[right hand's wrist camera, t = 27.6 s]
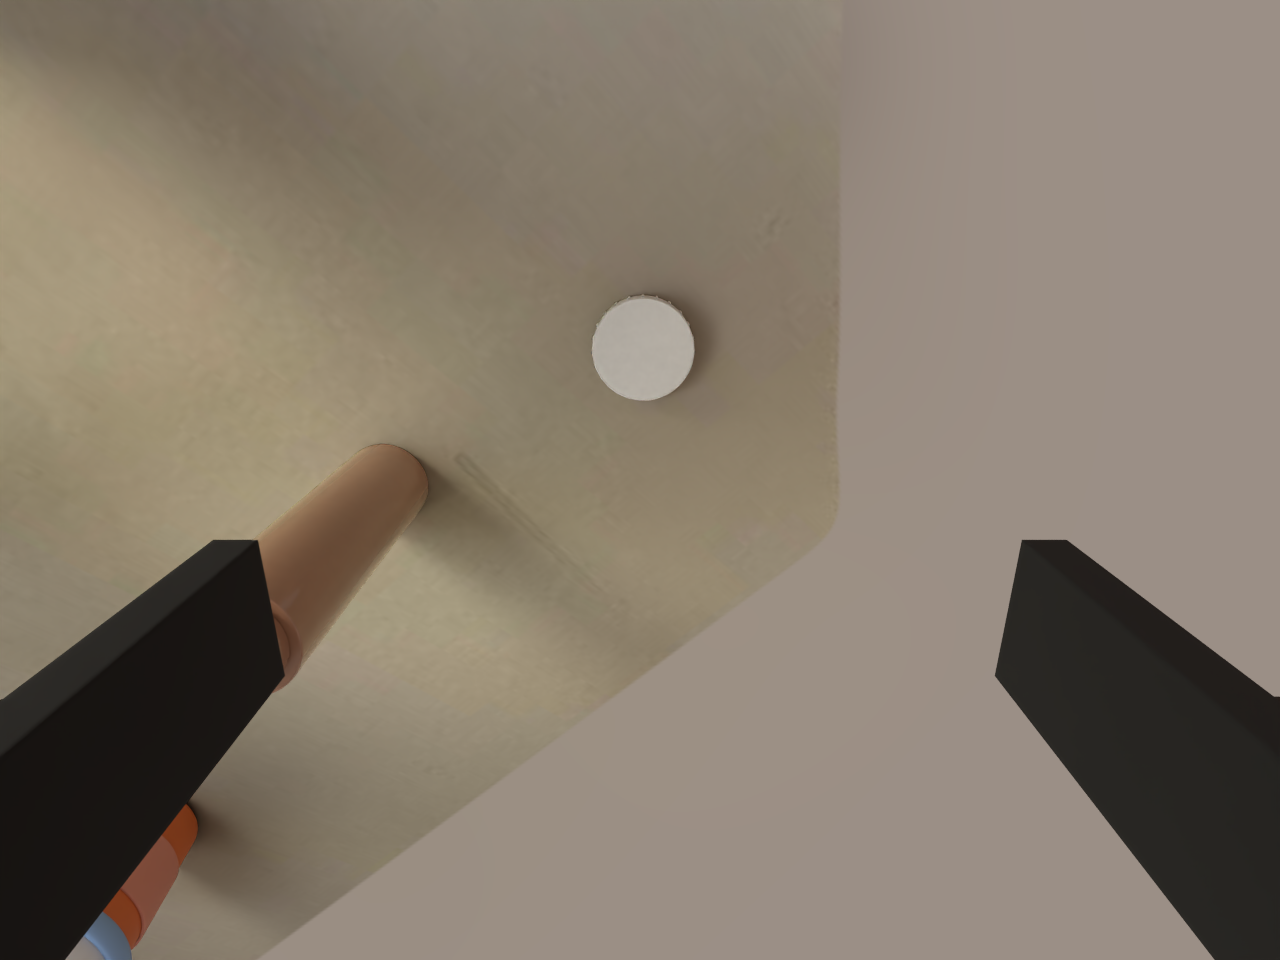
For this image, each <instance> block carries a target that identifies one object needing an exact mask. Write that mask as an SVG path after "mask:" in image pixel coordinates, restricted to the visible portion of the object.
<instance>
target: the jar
mask: <svg viewBox="0 0 1280 960" xmlns="http://www.w3.org/2000/svg"><path fill="white" fill-rule="evenodd" d="M427 495H428V480H427V476H426V473H425V471H424V469H423V467H422V466H421V464H420V463H419V462H418V460H417V459H416V458H415V457H414V456H412V455H411V454H410V453H408V452H407V451H405V450H403V449H401V448H399V447H396V446H392V445H387V444H377V445H371V446H368V447H365V448H363V449H362V450H360V451H359V452H357V453H356V454H355V455H354V456H352V457H351V458H350V459H349V460H348V461H346V462H345V463H344V464H343V465H342V466H340V467H339V468H338V469H337V470H336V471H334V472H333V473H332V474H331V475H330V476H328V477H327V478H326V479H325V480H324V481H322V482H321V483H320V484H319V485H318V486H316V487H315V488H314V489H313V490H312V491H310V492H309V493H308V494H307V495H306V496H304V497H303V498H302V499H301V500H299V501H298V502H297V503H296V504H295V505H293V506H292V507H291V508H290V509H289V510H287V511H286V512H285V513H284V514H283V515H281V516H280V517H279V518H278V519H277V520H275V521H274V522H273V523H272V524H271V525H269V526H268V527H267V528H266V529H265V530H263V531H262V532H261V533H260V534H259V535H257V536H256V537H255V538H254V539H253V540H258V543H259V548H260V553H261V558H262V563H263V568H264V573H265V578H266V583H267V588H268V593H269V598H270V603H271V608H272V613H273V618H274V623H275V628H276V633H277V638H278V643H279V648H280V653H281V658H282V663H283V668H284V673H285V677H284V678H283V679H282V680H281V682H280V683H279V684H278V686H277V687H276V688H275V689H274V691H273V692H272V693H274V692H276V691H278V690H280V689H282V688H283V687H285V686H286V685H287V684H288V683H289V682H290V681H291V680H292V679H293V678H294V677H295V676H296V674H297V673H298V672H299V670H300V669H301V668H302V666H303V665H304V664H305V662H306V661H307V660H308V658H309V657H310V656H311V654H312V653H313V652H314V650H315V649H316V648H317V646H318V645H319V644H320V642H321V641H322V640H323V638H324V637H325V636H326V634H327V633H328V632H329V630H330V629H331V628H332V626H333V625H334V624H335V622H336V621H337V620H338V618H339V617H340V616H341V614H342V613H343V612H344V610H345V609H346V608H347V606H348V605H349V604H350V602H351V601H352V600H353V598H354V597H355V596H356V594H357V593H358V592H359V590H360V589H361V588H362V586H363V585H364V584H365V582H366V581H367V580H368V578H369V577H370V576H371V574H372V573H373V572H374V570H375V569H376V568H377V566H378V565H379V564H380V562H381V561H382V560H383V558H384V557H385V556H386V554H387V553H388V552H389V550H390V549H391V548H392V546H393V545H394V544H395V542H396V541H397V540H398V538H399V537H400V536H401V534H402V533H403V532H404V531H405V529H406V528H407V527H408V525H409V524H410V523H411V521H412V520H413V519H414V517H415V516H416V515H417V513H418V512H419V511H420V509H421V508H422V507H423V505H424V503H425V501H426V499H427Z"/></svg>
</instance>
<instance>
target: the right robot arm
mask: <svg viewBox="0 0 1280 960" xmlns="http://www.w3.org/2000/svg"><path fill="white" fill-rule="evenodd" d="M995 676H996V678H997V679H998V680H999V682H1000V683H1001V684H1002V686H1003V687H1004V688H1005V689H1006V691H1007V692H1008V693H1009V695H1010V696H1011V697H1012V698H1013V700H1014V701H1015V702H1016V703H1017V705H1018V706H1019V707H1020V709H1021V710H1022V711H1023V713H1024V714H1025V715H1026V717H1027V718H1028V719H1029V720H1030V722H1031V723H1032V724H1033V726H1034V727H1035V728H1036V729H1037V731H1038V732H1039V733H1040V735H1041V736H1042V737H1043V739H1044V740H1045V741H1046V742H1047V744H1048V745H1049V746H1050V748H1051V749H1052V750H1053V751H1054V753H1055V754H1056V755H1057V757H1058V758H1059V759H1060V761H1061V762H1062V763H1063V764H1064V766H1065V767H1066V768H1067V769H1068V771H1069V772H1070V773H1071V775H1072V776H1073V777H1074V779H1075V780H1076V781H1077V782H1078V784H1079V785H1080V786H1081V788H1082V789H1083V790H1084V792H1085V793H1086V794H1087V795H1088V797H1089V798H1090V799H1091V800H1092V802H1093V803H1094V804H1095V806H1096V807H1097V808H1098V810H1099V811H1100V812H1101V813H1102V815H1103V816H1104V817H1105V819H1106V820H1107V821H1108V822H1109V824H1110V825H1111V826H1112V828H1113V829H1114V830H1115V831H1116V833H1117V834H1118V835H1119V837H1120V838H1121V839H1122V841H1123V842H1124V843H1125V844H1126V846H1127V847H1128V848H1129V850H1130V851H1131V852H1132V854H1133V855H1134V856H1135V857H1136V859H1137V860H1138V861H1139V863H1140V864H1141V865H1142V866H1143V868H1144V869H1145V870H1146V872H1147V873H1148V874H1149V875H1150V877H1151V878H1152V879H1153V881H1154V882H1155V883H1156V885H1157V886H1158V887H1159V888H1160V890H1161V891H1162V892H1163V894H1164V895H1165V896H1166V897H1167V899H1168V900H1169V901H1170V903H1171V904H1172V905H1173V906H1174V908H1175V909H1176V910H1177V912H1178V913H1179V914H1180V916H1181V917H1182V918H1183V919H1184V921H1185V922H1186V923H1187V925H1188V926H1189V927H1190V928H1191V930H1192V931H1193V932H1194V934H1195V935H1196V936H1197V937H1198V939H1199V940H1200V941H1201V943H1202V944H1203V945H1204V947H1205V948H1206V949H1207V950H1208V952H1209V953H1210V954H1211V956H1212V957H1213V958H1214V959H1215V960H1280V697H1274V696H1272V695H1271V694H1270V693H1268V692H1267V691H1266V690H1264V689H1263V688H1262V687H1260V686H1259V685H1258V684H1256V683H1255V682H1254V681H1252V680H1251V679H1250V678H1248V677H1247V676H1246V675H1244V674H1243V673H1242V672H1241V671H1239V670H1238V669H1237V668H1235V667H1234V666H1233V665H1231V664H1230V663H1229V662H1227V661H1226V660H1225V659H1223V658H1222V657H1221V656H1219V655H1218V654H1217V653H1215V652H1214V651H1213V650H1211V649H1210V648H1209V647H1207V646H1206V645H1205V644H1203V643H1202V642H1201V641H1200V640H1198V639H1197V638H1196V637H1194V636H1193V635H1192V634H1190V633H1189V632H1188V631H1186V630H1185V629H1184V628H1182V627H1181V626H1180V625H1178V624H1177V623H1176V622H1174V621H1173V620H1172V619H1170V618H1169V617H1168V616H1166V615H1165V614H1164V613H1162V612H1161V611H1160V610H1159V609H1157V608H1156V607H1155V606H1153V605H1152V604H1151V603H1149V602H1148V601H1147V600H1145V599H1144V598H1143V597H1141V596H1140V595H1139V594H1137V593H1136V592H1135V591H1133V590H1132V589H1131V588H1129V587H1128V586H1127V585H1125V584H1124V583H1123V582H1122V581H1120V580H1119V579H1118V578H1116V577H1115V576H1114V575H1112V574H1111V573H1110V572H1108V571H1107V570H1106V569H1104V568H1103V567H1102V566H1100V565H1099V564H1098V563H1096V562H1095V561H1094V560H1092V559H1091V558H1090V557H1088V556H1087V555H1086V554H1084V553H1083V552H1082V551H1081V550H1079V549H1078V548H1077V547H1075V546H1074V545H1073V544H1071V543H1070V542H1069V541H1067V540H1022V543H1021V548H1020V553H1019V558H1018V563H1017V568H1016V573H1015V578H1014V583H1013V588H1012V593H1011V598H1010V603H1009V608H1008V613H1007V618H1006V623H1005V628H1004V633H1003V638H1002V643H1001V648H1000V653H999V658H998V663H997V668H996V673H995ZM284 677H285V673H284V668H283V663H282V658H281V653H280V648H279V643H278V638H277V633H276V628H275V623H274V618H273V613H272V608H271V603H270V598H269V593H268V588H267V583H266V578H265V573H264V568H263V563H262V558H261V553H260V548H259V543H258V540H213V541H211V542H210V543H209V544H207V545H206V546H205V547H203V548H202V549H201V550H199V551H198V552H197V553H195V554H194V555H193V556H192V557H190V558H189V559H188V560H186V561H185V562H184V563H182V564H181V565H180V566H178V567H177V568H176V569H174V570H173V571H172V572H170V573H169V574H168V575H166V576H165V577H164V578H162V579H161V580H160V581H158V582H157V583H156V584H155V585H153V586H152V587H151V588H149V589H148V590H147V591H145V592H144V593H143V594H141V595H140V596H139V597H137V598H136V599H135V600H133V601H132V602H131V603H129V604H128V605H127V606H125V607H124V608H123V609H121V610H120V611H119V612H117V613H116V614H115V615H114V616H112V617H111V618H110V619H108V620H107V621H106V622H104V623H103V624H102V625H100V626H99V627H98V628H96V629H95V630H94V631H92V632H91V633H90V634H88V635H87V636H86V637H84V638H83V639H82V640H80V641H79V642H78V643H77V644H75V645H74V646H73V647H71V648H70V649H69V650H67V651H66V652H65V653H63V654H62V655H61V656H59V657H58V658H57V659H55V660H54V661H53V662H51V663H50V664H49V665H47V666H46V667H45V668H43V669H42V670H41V671H39V672H38V673H37V674H36V675H34V676H33V677H32V678H30V679H29V680H28V681H26V682H25V683H24V684H22V685H21V686H20V687H18V688H17V689H16V690H14V691H13V692H12V693H10V694H9V695H8V696H6V697H5V698H4V699H1V700H0V960H65V959H66V958H67V957H68V956H69V954H70V953H71V952H72V950H73V949H74V948H75V947H76V945H77V944H78V943H79V941H80V940H81V939H82V937H83V936H84V935H85V934H86V932H87V931H88V930H89V928H90V927H91V926H92V925H93V923H94V922H95V921H96V919H97V918H98V917H99V916H100V914H101V913H102V912H103V910H104V909H105V908H106V906H107V905H108V904H109V903H110V901H111V900H112V899H113V897H114V896H115V895H116V894H117V892H118V891H119V890H120V888H121V887H122V886H123V885H124V883H125V882H126V881H127V879H128V878H129V877H130V875H131V874H132V873H133V872H134V870H135V869H136V868H137V866H138V865H139V864H140V863H141V861H142V860H143V859H144V857H145V856H146V855H147V854H148V852H149V851H150V850H151V848H152V847H153V846H154V844H155V843H156V842H157V841H158V839H159V838H160V837H161V835H162V834H163V833H164V832H165V830H166V829H167V828H168V826H169V825H170V824H171V823H172V821H173V820H174V819H175V817H176V816H177V815H178V813H179V812H180V811H181V810H182V808H183V807H184V806H185V804H186V803H187V802H188V801H189V799H190V798H191V797H192V795H193V794H194V793H195V792H196V790H197V789H198V788H199V786H200V785H201V784H202V782H203V781H204V780H205V779H206V777H207V776H208V775H209V773H210V772H211V771H212V770H213V768H214V767H215V766H216V764H217V763H218V762H219V761H220V759H221V758H222V757H223V755H224V754H225V753H226V751H227V750H228V749H229V748H230V746H231V745H232V744H233V742H234V741H235V740H236V739H237V737H238V736H239V735H240V733H241V732H242V731H243V730H244V728H245V727H246V726H247V724H248V723H249V722H250V720H251V719H252V718H253V717H254V715H255V714H256V713H257V711H258V710H259V709H260V708H261V706H262V705H263V704H264V702H265V701H266V700H267V698H268V697H269V696H270V695H271V693H272V692H273V691H274V689H275V688H276V687H277V686H278V684H279V683H280V682H281V680H282V679H283V678H284Z"/></svg>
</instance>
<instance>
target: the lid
mask: <svg viewBox="0 0 1280 960" xmlns="http://www.w3.org/2000/svg"><path fill="white" fill-rule="evenodd" d="M689 326H690V324H689V322H688V321H686V319H685V318H684V316H683V315H682V312H681V310H678V309H677V308H676V307H674V306H673V305H672V304H671V302H670V301H669V302H667V301H665V300H663V299H661V298H658V296H656V297H654V296H647V295H644V294H642V295H640V296H633V297H630V296H628V298H626V299H623V300H621V301H619V302H617V301H616V302H615V305H613V306H612V307H611V308H610V309H609V310H608V311H605V312H604V315H603V317H602V319H601V320H600V322H598V323H597V325H596V327H597V329H596V331H595V334H594V335H593V337H592V340H593V344H592V352H591V354H592V355H593V361H594V365H595V366H594V367H595V368H596V370H597V372H598V374H599V376H600V378H601V379H602V380H603V382H604V383H605V384H606V385H607V386H608V387H609V388H610V389H611V390H613V391H614V392H616V393H617V394H619V395H621V396H623V397H625V398H629V399H633V400H640V401H646V400H654V399H658V398H661V397H663V396H665V395H667V394H669V393H671V392H672V391H674V390H675V389H676V388H677V387H678V386H680V384H681V383H682V382H683V381H684V380H685V379H686V377H687V375H688V373H689V371H690V369H691V367H692V363H693V359H694V353H695V350H694V336H693V334H692V333H691V330H690V328H689Z"/></svg>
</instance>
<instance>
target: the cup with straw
mask: <svg viewBox="0 0 1280 960" xmlns="http://www.w3.org/2000/svg"><path fill="white" fill-rule="evenodd" d="M197 832H198V824H197V820H196V817H195V815H194V813H193V812H192V810H191V809H190V808H189V807H188V805H187V804H185V806H184V807H183V808H182V810H181V811H180V812H179V813H178V815H177V816H176V817H175V819H174V820H173V821H172V823H171V824H170V825H169V826H168V828H167V829H166V830H165V832H164V833H163V834H162V835H161V837H160V838H159V839H158V841H157V842H156V843H155V844H154V846H153V847H152V848H151V850H150V851H149V852H148V854H147V855H146V856H145V857H144V859H143V860H142V861H141V863H140V864H139V865H138V866H137V868H136V869H135V870H134V872H133V873H132V874H131V875H130V877H129V878H128V879H127V881H126V882H125V883H124V885H123V886H122V887H121V888H120V890H119V891H118V892H117V894H116V895H115V896H114V897H113V899H112V900H111V901H110V903H109V904H108V905H107V906H106V908H105V909H104V910H103V912H102V913H101V914H100V916H99V917H98V918H97V919H96V921H95V922H94V923H93V925H92V926H91V927H90V928H89V930H88V931H87V932H86V934H85V935H84V936H83V937H82V939H81V940H80V941H79V943H78V944H77V945H76V947H75V948H74V949H73V950H72V952H71V953H70V954H69V956H68V957H67V958H66V959H65V960H132V956H131V950H132V949H133V948H134V947H135V946H136V945H137V944H138V943H139V942H140V940H141V939H142V937H143V935H144V933H145V932H146V930H147V928H148V926H149V925H150V923H151V921H152V919H153V918H154V916H155V914H156V913H157V911H158V909H159V907H160V906H161V904H162V902H163V900H164V899H165V897H166V895H167V893H168V892H169V890H170V888H171V886H172V885H173V883H174V881H175V879H176V877H177V874H178V870H179V867H180V865H181V864H182V862H183V860H184V858H185V857H186V855H187V853H188V851H189V850H190V848H191V846H192V844H193V843H194V841H195V839H196V836H197Z"/></svg>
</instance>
